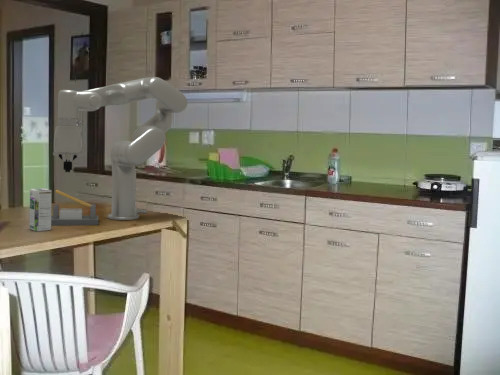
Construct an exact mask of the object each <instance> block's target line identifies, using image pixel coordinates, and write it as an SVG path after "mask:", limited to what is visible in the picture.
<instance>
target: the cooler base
mask: <svg viewBox="0 0 500 375" xmlns="http://www.w3.org/2000/svg"><path fill="white" fill-rule="evenodd" d="M90 204H91V205H94V206H90V209H89V210H90V211H89V215H83V208H60V205H59V204H54V205H53V207H52V214H53V215H51V226H99V215H97V208H96V207H97V206H96V205H97V203H90ZM59 208H60V210H59Z"/></svg>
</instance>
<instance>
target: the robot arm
mask: <svg viewBox="0 0 500 375" xmlns="http://www.w3.org/2000/svg"><path fill="white" fill-rule="evenodd" d="M57 95H58V96H57V99H58V100H57V126H55V130H54V136H53V152H52V155H53V156H54V157H57V158H59V159H61V160H62V162H63V170H64V172H65V173H70V172H71V171H73V161H75V159H77V158H81V157H83V155H84V153H83V132H82V127H80V125H84V121H83V120H81V119H80V112H95V111H97V110H99V109H101V107H107V106H109V107H110V106H122V105H128V104H132V103H135V102H139V101H144V100H149V99H156V100H155V110H154V111H155V112H154V114H153V116H152V117H150V118H149V119H148V120H147V121H146V122H144V123H142V125H141V126H139V127H137V128H136V129H135V130H134V132H133V133H132V136H131V139H132V141H131V140H120V141H116V142H115V143H113V144H112V146H111V148H110V153H109V154H110V157H109V158H110V163H111V177H112V178H111V212H110V213H108V214H107V219H109V220H114V221H115V220H116V221H131V220H137V219H139V218H140V214H143V215H144V214H148V209H147V208H138V207H137V204H136V203H137V202H136V201H137V199H136V193H137V185H136V184H137V170H136V166H137V167H138V166H140V165H142V164H144V163H145V162H146V161H148V160H149V159H150V158H151V157H152V156H153V155H155V154H156V153H157V152H158V151H160V150H161V149H162V148H163V146H164V145H165V143H166V133H167V132H168V131H169V130H170V128H171V127H172V124H173V114H177V113H179V114H180V113H181V112H184V111H185V110H186V109H187V107H188V99H187V97H186V95H185V94H184V92H181V91H180V90H178V89H177V88H176V87H174V86H173V85H171V83H168V82H167V81H166V80H164V79H162V78H161V77H157V76H151V77H150V76H149V77H148V76H147V77H142V78H138V79H137V78H136V79H134V80H133V79H132V80H128V81H123V82H118V83H114V84H109V85H106V86H102V87H96V88H91V89H86V90H80V91H77V90H72V89H61V90H59V91H58V94H57ZM67 154H70V155H69V159H67Z"/></svg>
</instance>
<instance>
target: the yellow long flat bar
mask: <svg viewBox="0 0 500 375" xmlns="http://www.w3.org/2000/svg"><path fill="white" fill-rule="evenodd" d="M54 193H55V194H58V195H60V196H62V197H64V198H68V199H69V200H72V201H74V202H76V203H77V204H81V205H83V206H86V207H87V208H90V206H94V205H91V204H92V203H88V202H86V201H83V200H81V199H79V198H77V197H74V196H72V195H70V194H68V193H66V192H63V191H62V190H59V189H58V188H57V189H55V191H54Z"/></svg>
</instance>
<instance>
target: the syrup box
mask: <svg viewBox="0 0 500 375" xmlns="http://www.w3.org/2000/svg"><path fill="white" fill-rule="evenodd" d="M51 216H52V189H46V188H41V187H40V188H38V187H37V188H30V189H29V230H32V231H34V232H43V231H44V232H45V231H51V230H52V225H51Z"/></svg>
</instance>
